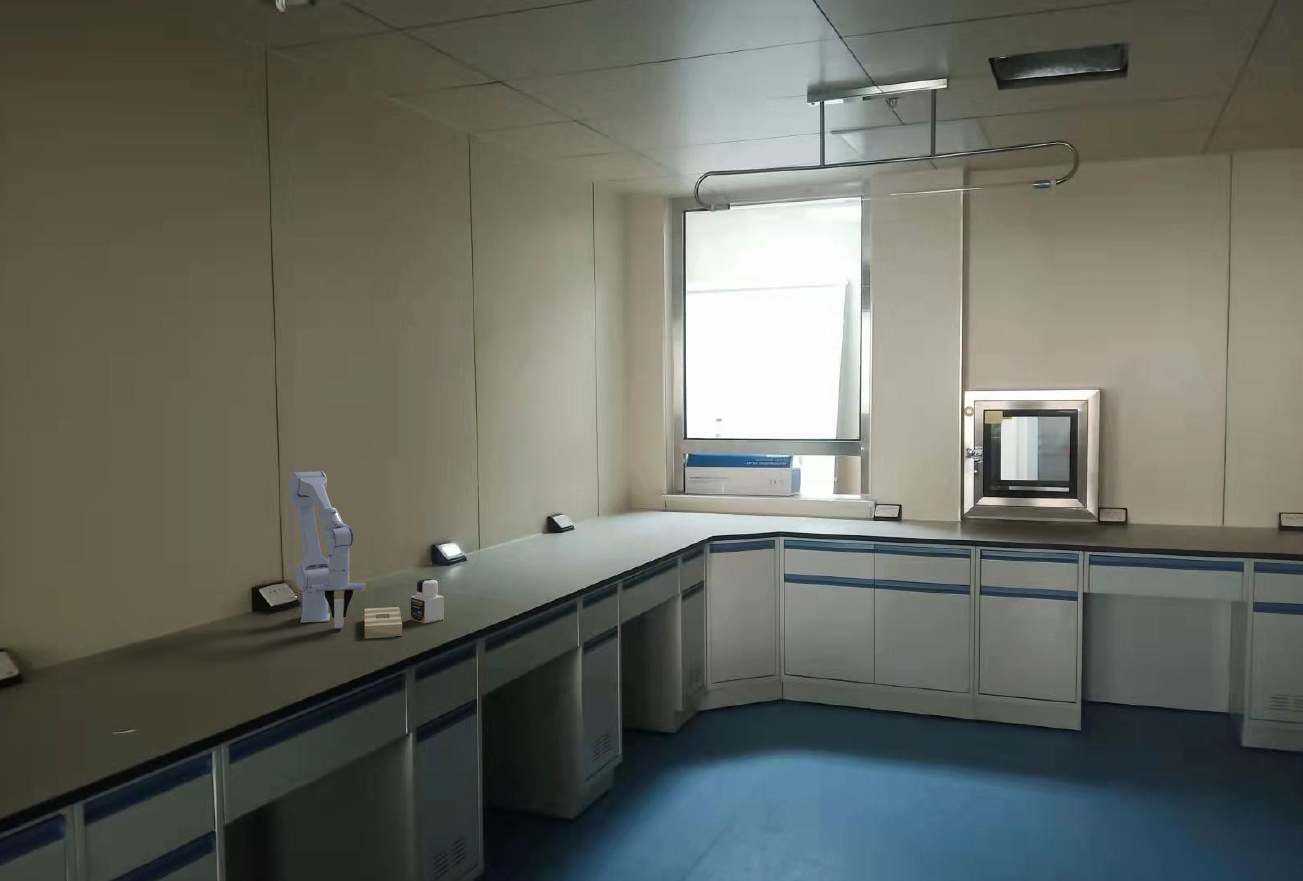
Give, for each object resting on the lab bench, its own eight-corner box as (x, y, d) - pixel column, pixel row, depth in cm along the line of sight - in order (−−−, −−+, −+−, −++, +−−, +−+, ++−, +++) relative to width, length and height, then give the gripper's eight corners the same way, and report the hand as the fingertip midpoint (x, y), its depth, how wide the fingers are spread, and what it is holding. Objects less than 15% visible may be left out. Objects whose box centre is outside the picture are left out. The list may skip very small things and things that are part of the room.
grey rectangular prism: (334, 623, 289) (334, 599, 289) (343, 622, 290) (343, 598, 289) (334, 629, 282) (334, 604, 282) (343, 628, 283) (343, 604, 283)
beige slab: (364, 620, 298) (364, 608, 297) (399, 618, 300) (399, 607, 300) (364, 638, 276) (364, 625, 276) (402, 636, 279) (402, 623, 279)
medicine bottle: (410, 619, 299) (410, 579, 299) (430, 615, 305) (430, 576, 304) (424, 623, 295) (424, 583, 294) (444, 619, 300) (444, 580, 299)
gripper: (311, 572, 279) (311, 621, 280) (365, 571, 283) (365, 618, 284) (312, 568, 286) (312, 615, 287) (365, 566, 290) (365, 613, 291)
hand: (338, 616), depth 286 cm, fingers closed on grey rectangular prism, 2 cm apart
